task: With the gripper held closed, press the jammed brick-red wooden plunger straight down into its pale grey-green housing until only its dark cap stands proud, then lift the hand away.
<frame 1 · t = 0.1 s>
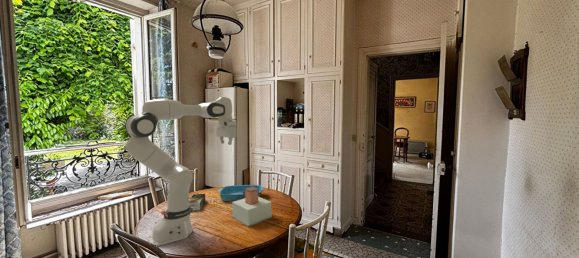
hand: (226, 144, 151), 48 cm above the table, fingers open, 8 cm apart
juice carton: (196, 206, 172), on the table
small box: (251, 204, 174), on the table
housing: (252, 217, 153), on the table
casserole dish: (241, 197, 189), on the table
plunger: (251, 197, 152), point 13 cm above the table, slide at 0.0 cm
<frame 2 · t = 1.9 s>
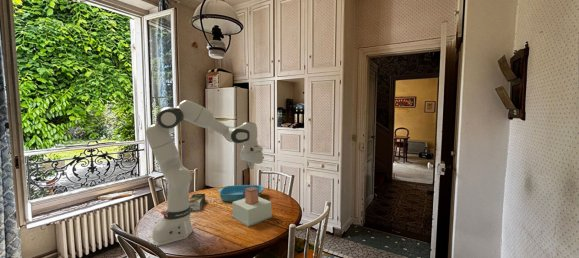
hand: (251, 168, 150), 32 cm above the table, fingers closed
nothing on the table moved.
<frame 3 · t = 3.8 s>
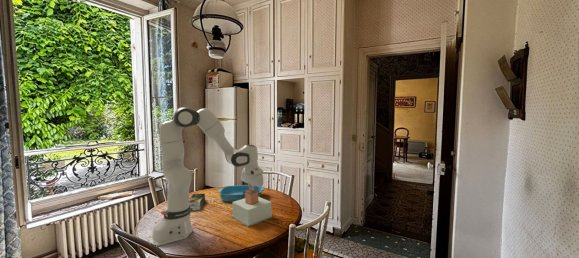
hand: (251, 190, 151), 18 cm above the table, fingers closed, pressing on plunger
plunger: (251, 199, 152), point 12 cm above the table, slide at 1.2 cm, touching gripper
everything else where it was.
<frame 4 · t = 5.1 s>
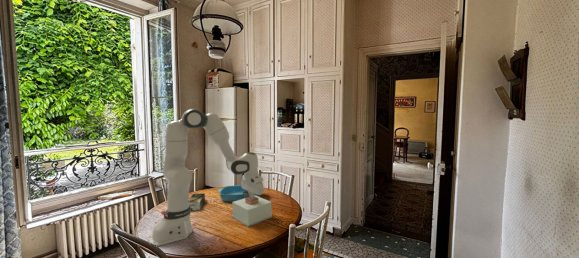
hand: (252, 198, 152), 13 cm above the table, fingers closed, pressing on plunger
plunger: (251, 207, 152), point 7 cm above the table, slide at 6.2 cm, touching gripper, housing
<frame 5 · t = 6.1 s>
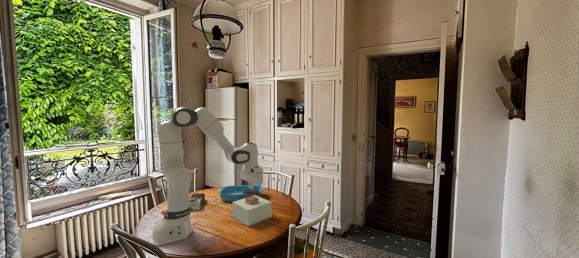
hand: (251, 188, 151), 19 cm above the table, fingers closed
plunger: (251, 207, 152), point 7 cm above the table, slide at 6.2 cm, touching housing
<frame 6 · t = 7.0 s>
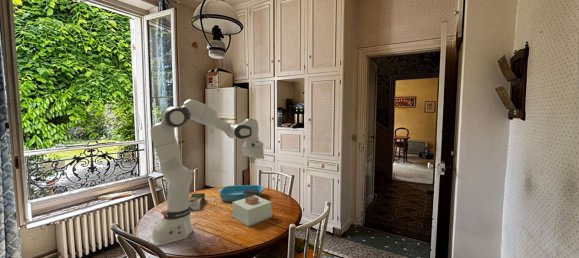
hand: (252, 163, 157), 34 cm above the table, fingers closed
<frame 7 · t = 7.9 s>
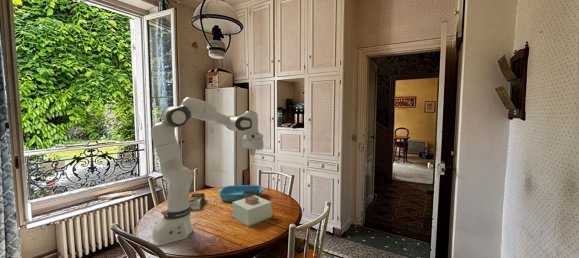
hand: (252, 155, 159), 39 cm above the table, fingers closed
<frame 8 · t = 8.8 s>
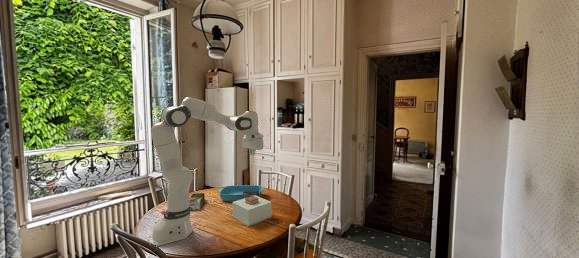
hand: (252, 155, 159), 39 cm above the table, fingers closed
at the end: plunger slide at 6.2 cm; the gripper is holding nothing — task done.
